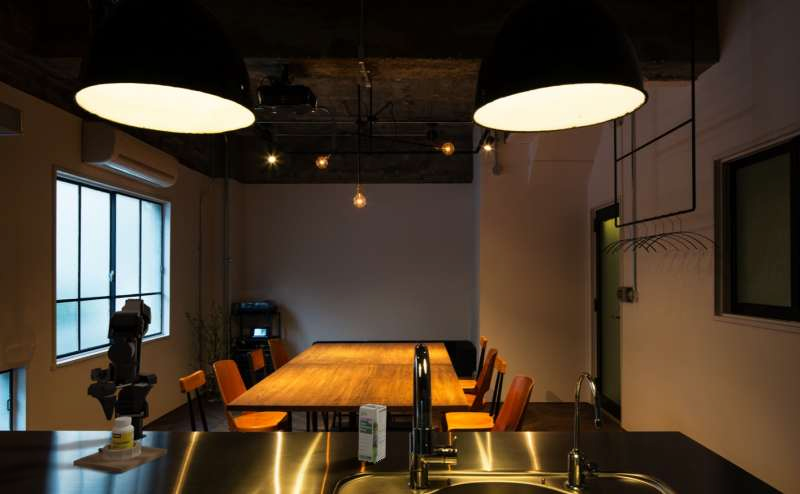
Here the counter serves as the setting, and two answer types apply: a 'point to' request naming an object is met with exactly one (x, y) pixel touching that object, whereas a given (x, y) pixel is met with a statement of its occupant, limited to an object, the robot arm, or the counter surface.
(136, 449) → the dock
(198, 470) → the counter surface
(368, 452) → the syrup box
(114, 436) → the supplement bottle
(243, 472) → the counter surface
